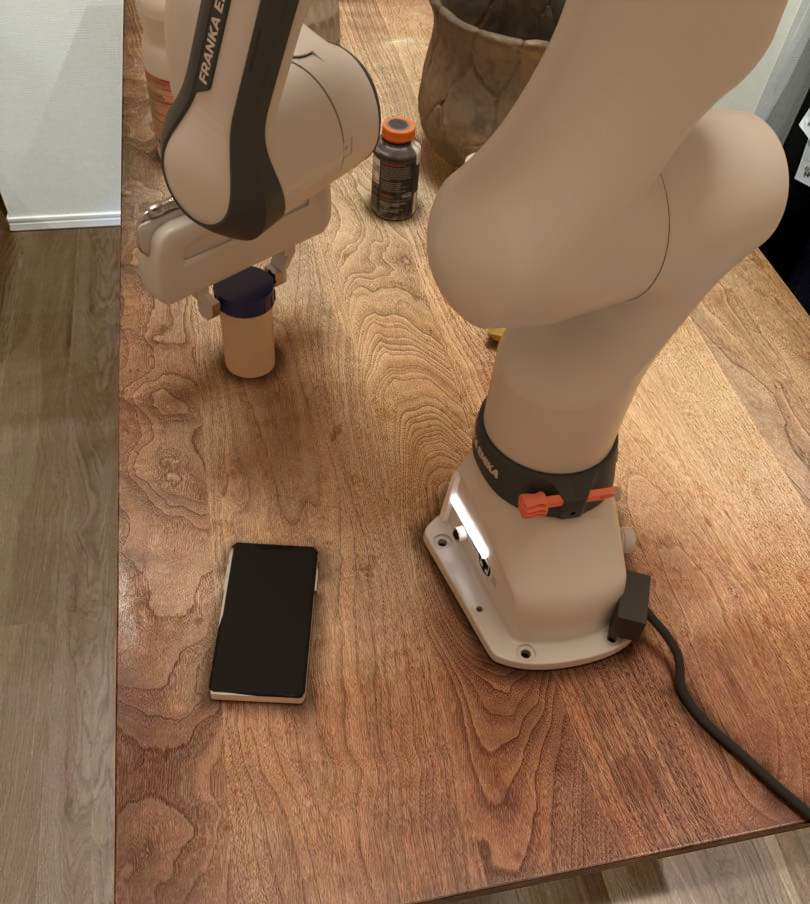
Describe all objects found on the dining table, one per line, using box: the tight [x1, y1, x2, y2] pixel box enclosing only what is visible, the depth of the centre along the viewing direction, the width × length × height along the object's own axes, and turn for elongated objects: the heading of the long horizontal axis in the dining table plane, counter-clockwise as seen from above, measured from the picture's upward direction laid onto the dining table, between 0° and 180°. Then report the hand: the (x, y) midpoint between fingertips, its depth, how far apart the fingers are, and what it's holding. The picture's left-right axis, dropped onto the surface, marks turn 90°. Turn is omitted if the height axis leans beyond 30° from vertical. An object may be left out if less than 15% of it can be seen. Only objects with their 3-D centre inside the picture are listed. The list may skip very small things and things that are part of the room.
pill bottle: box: [370, 115, 422, 221], centre depth 109 cm, size 6×6×11 cm
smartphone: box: [208, 541, 319, 705], centre depth 75 cm, size 8×1×15 cm
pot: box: [417, 0, 566, 169], centre depth 114 cm, size 25×24×21 cm
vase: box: [303, 0, 341, 46], centre depth 111 cm, size 13×13×28 cm
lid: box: [212, 265, 277, 319], centre depth 87 cm, size 6×6×2 cm
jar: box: [219, 306, 276, 379], centre depth 91 cm, size 5×5×10 cm
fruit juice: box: [134, 0, 174, 160], centre depth 106 cm, size 9×9×28 cm
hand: (243, 298), depth 88 cm, fingers open, 7 cm apart
